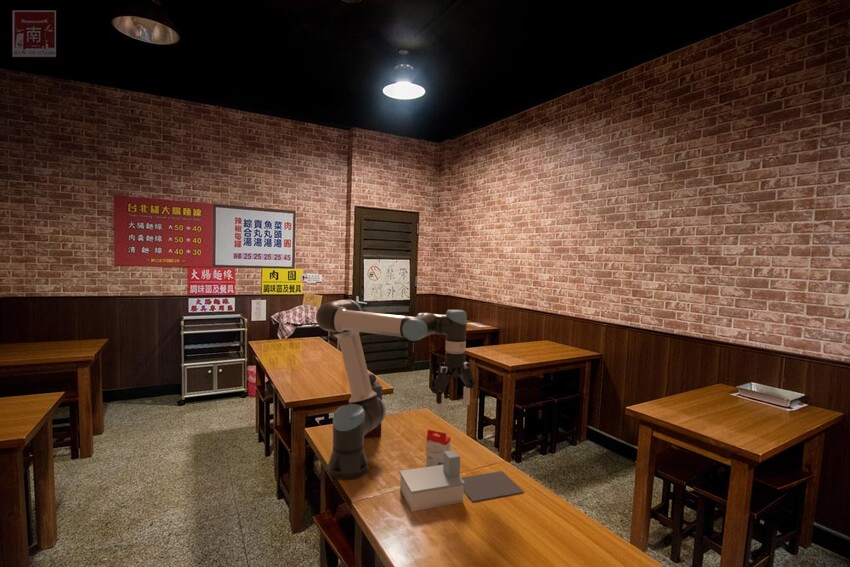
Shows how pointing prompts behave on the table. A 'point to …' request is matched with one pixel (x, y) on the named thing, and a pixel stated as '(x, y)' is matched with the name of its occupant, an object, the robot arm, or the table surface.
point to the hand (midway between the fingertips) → (453, 408)
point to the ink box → (436, 447)
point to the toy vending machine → (378, 389)
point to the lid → (435, 475)
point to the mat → (489, 486)
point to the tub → (431, 497)
